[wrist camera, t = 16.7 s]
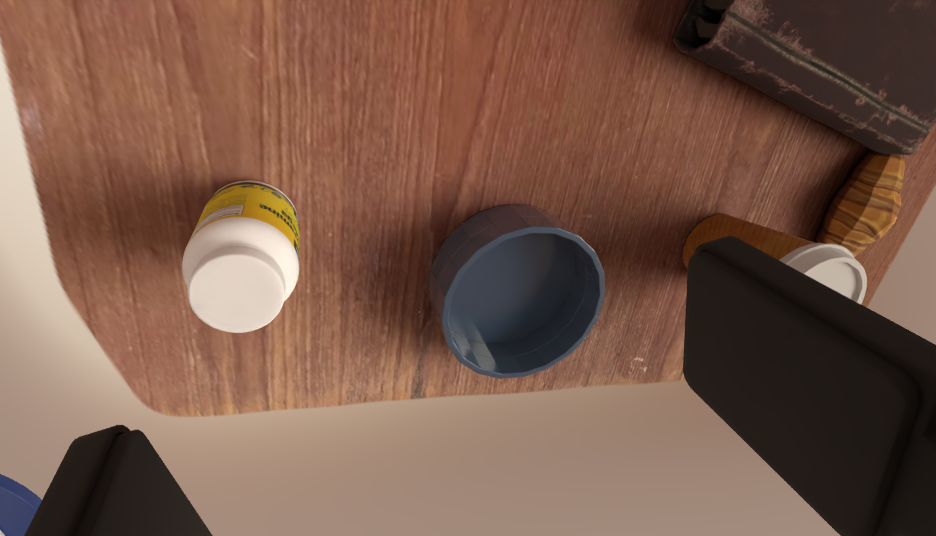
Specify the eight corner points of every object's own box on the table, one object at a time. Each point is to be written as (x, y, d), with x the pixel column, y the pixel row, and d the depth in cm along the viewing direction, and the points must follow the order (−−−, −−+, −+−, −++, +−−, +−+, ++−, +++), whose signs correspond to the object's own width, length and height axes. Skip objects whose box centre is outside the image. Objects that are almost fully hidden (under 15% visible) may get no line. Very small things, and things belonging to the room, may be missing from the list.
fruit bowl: (444, 362, 47) (459, 398, 43) (412, 229, 40) (426, 256, 36) (580, 318, 49) (607, 349, 45) (571, 185, 43) (602, 206, 38)
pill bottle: (314, 240, 39) (319, 318, 29) (233, 273, 38) (212, 363, 28) (273, 163, 35) (265, 222, 26) (185, 197, 35) (143, 271, 25)
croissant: (856, 130, 48) (910, 142, 44) (902, 145, 51) (957, 158, 47) (785, 261, 53) (827, 283, 49) (829, 269, 56) (873, 291, 52)
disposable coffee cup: (713, 300, 53) (812, 373, 43) (648, 271, 49) (741, 343, 39) (772, 219, 50) (893, 275, 40) (708, 180, 46) (825, 232, 36)
